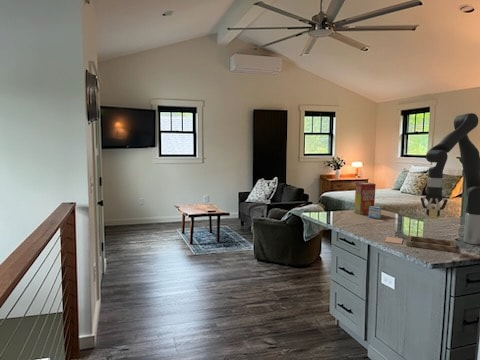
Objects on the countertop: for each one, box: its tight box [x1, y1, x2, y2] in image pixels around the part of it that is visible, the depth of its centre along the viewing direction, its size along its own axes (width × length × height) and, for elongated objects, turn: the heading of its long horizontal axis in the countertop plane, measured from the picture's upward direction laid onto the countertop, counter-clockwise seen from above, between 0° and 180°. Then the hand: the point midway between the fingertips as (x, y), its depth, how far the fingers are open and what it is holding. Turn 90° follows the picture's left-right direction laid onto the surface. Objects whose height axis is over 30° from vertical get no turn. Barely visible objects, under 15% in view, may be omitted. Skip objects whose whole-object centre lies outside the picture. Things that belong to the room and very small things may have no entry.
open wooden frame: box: [406, 235, 457, 253], centre depth 203 cm, size 24×15×2 cm, turn 62°
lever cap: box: [428, 205, 438, 220], centre depth 201 cm, size 4×7×6 cm, turn 153°
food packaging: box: [353, 182, 376, 216], centre depth 295 cm, size 13×9×25 cm
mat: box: [384, 236, 404, 245], centre depth 212 cm, size 9×12×1 cm
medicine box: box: [368, 206, 382, 220], centre depth 278 cm, size 8×4×9 cm, turn 47°
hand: (432, 216), depth 202 cm, fingers closed on lever cap, 4 cm apart
